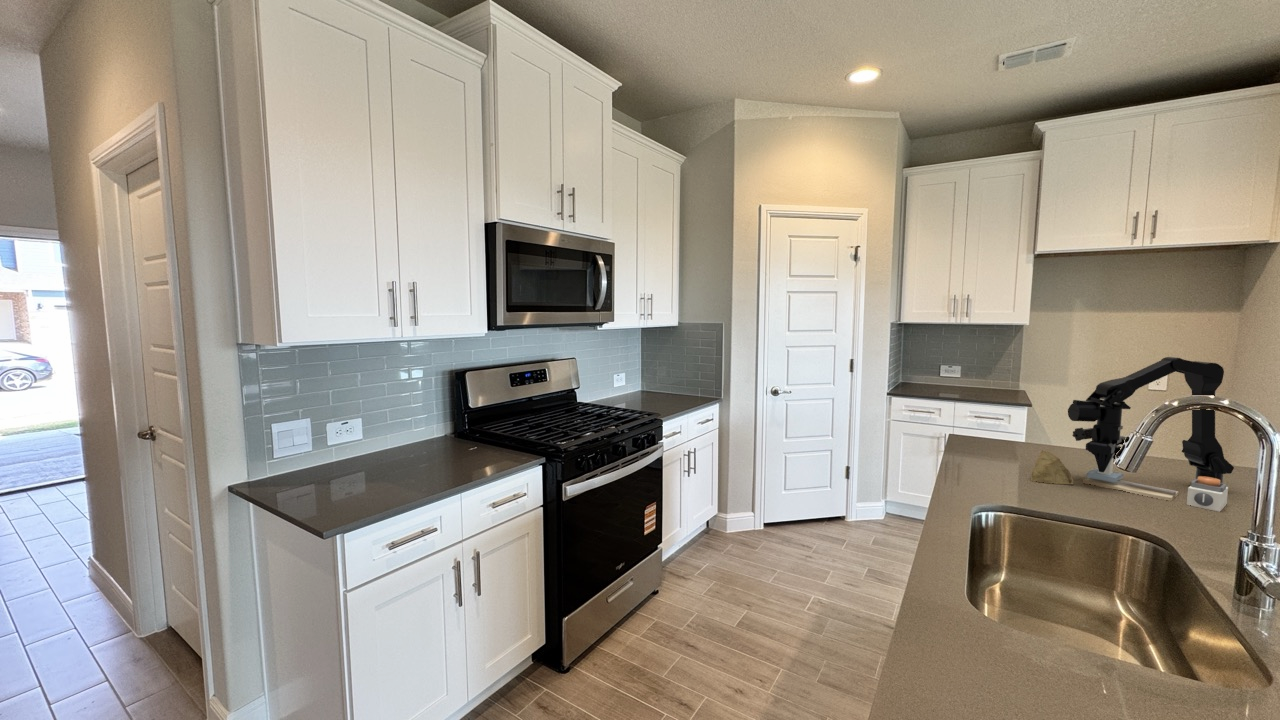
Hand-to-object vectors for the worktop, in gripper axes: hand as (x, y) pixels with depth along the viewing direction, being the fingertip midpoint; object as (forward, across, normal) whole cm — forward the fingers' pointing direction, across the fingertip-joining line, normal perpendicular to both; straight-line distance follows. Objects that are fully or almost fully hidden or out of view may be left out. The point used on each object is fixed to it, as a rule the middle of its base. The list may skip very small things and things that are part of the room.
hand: (1105, 470), depth 166 cm
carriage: (+2, 0, 0) cm, 2 cm away
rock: (+5, +12, -10) cm, 16 cm away
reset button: (-2, 0, +23) cm, 23 cm away
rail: (+4, 0, +6) cm, 8 cm away
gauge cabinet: (+4, 0, +22) cm, 23 cm away
